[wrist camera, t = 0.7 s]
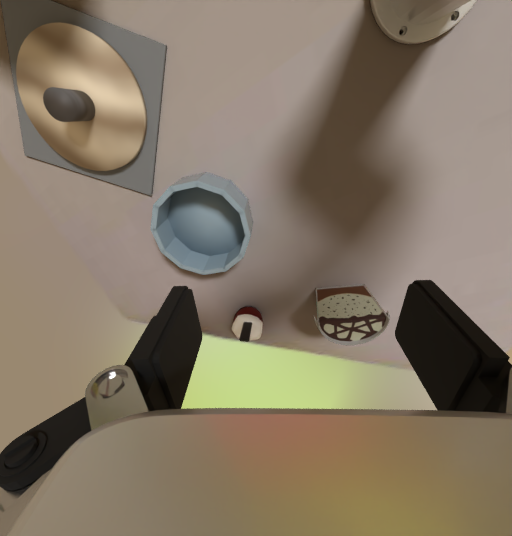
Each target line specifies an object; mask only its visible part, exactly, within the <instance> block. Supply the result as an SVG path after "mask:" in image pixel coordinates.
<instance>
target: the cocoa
mask: <svg viewBox="0 0 512 536" xmlns="http://www.w3.org/2000/svg"><path fill="white" fill-rule="evenodd" d="M262 328H263V320H262V316H261V313H260V312H259V311H258V310H257V309H256V308H253V307H244V308H241V309H240V310H239V311H238V312H237V313H236V315H235V317H234V321H233V325H232V331H233V332H234V334H235V335H236V336H237V337H238V338H239V340H240V341H246V342H248V341H249V340H250V341H251V340H257V339H259V338H260V337H261V334H262Z"/></svg>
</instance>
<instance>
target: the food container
mask: <svg viewBox="0 0 512 536" xmlns="http://www.w3.org/2000/svg"><path fill="white" fill-rule="evenodd" d="M316 303H317V318H318V321H317V320H316V318H315V316H314V321H315V324H316V326H317V328H318V329H319V331H320V333H321V334H322V335H323V336H324V337H325V338H326V339H328V340H329V341H331V342H333V343H336V344H340V345H359V344H363V343H366V342H369V341H371V340H373V339H375V338H376V337H378V336H379V335H380V334H381V333H382V332H383V331H384V330H385V329H386V327H387V326H388V324H389V320H390V319H389V318H390V315H389V312H388V311H387V313H385V312H384V310H383V309H382V308H381V306H380V305H379V303H378V302H377V301H376V299H375V298H374V297H373V295H372V294H371V293H370V291H369V290H368V289H367V287H366V286H365V285H364V284H362V285H350V286H338V287H325V288H316Z"/></svg>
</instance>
